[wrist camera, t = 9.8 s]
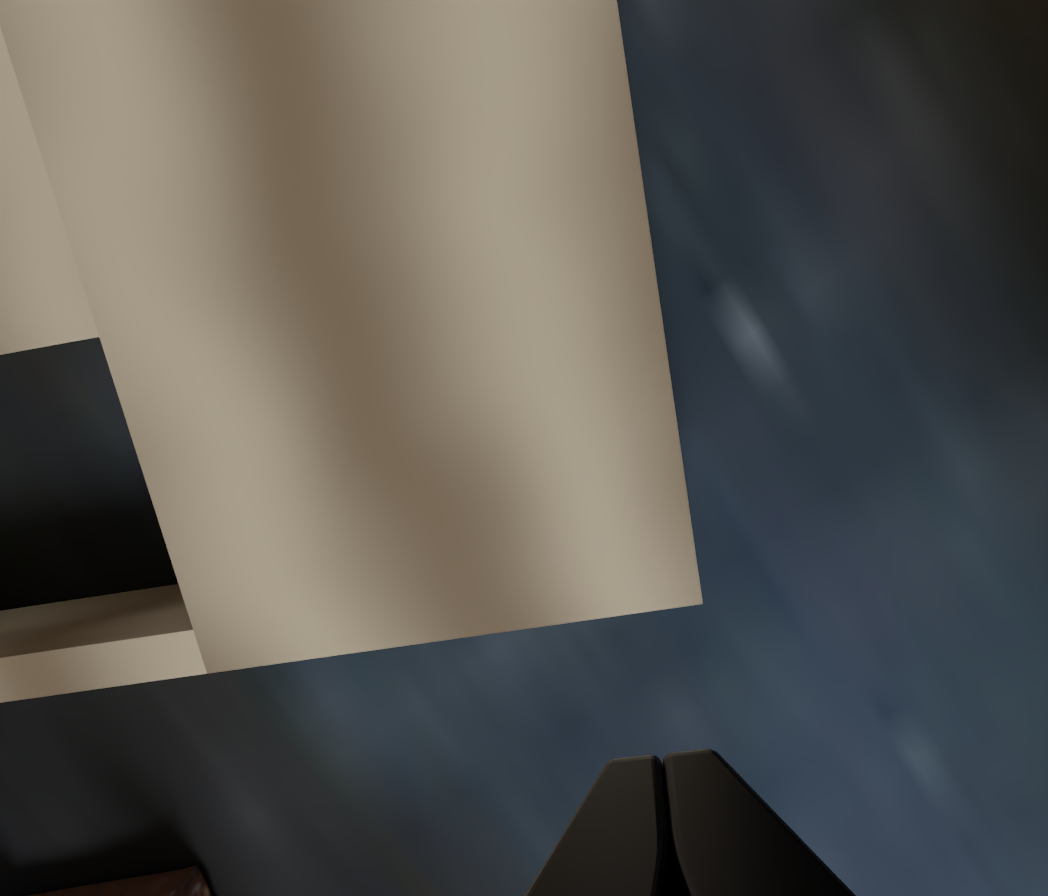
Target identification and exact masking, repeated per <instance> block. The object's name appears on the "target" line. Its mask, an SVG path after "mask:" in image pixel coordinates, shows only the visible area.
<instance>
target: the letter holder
mask: <svg viewBox="0 0 1048 896" xmlns="http://www.w3.org/2000/svg"><path fill="white" fill-rule="evenodd" d="M27 896H212V895H211V892H210V889H209V887H208V885H207V883H206V881H205V879H204V877H203V875H202V873H201V871H200V870H199V868H198V867H197V866H196V865H195V866H191V867H188V868H184V869H180V870H174V871H168V872H162V873H156V874H150V875H144V876H138V877H132V878H126V879H120V880H114V881H108V882H102V883H97V884H91V885H85V886H79V887H73V888H67V889H61V890H55V891H49V892H44V893H38V894H32V895H27Z"/></svg>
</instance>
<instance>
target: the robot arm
mask: <svg viewBox="0 0 1048 896" xmlns="http://www.w3.org/2000/svg"><path fill="white" fill-rule="evenodd" d="M525 896H856V895H855V894H854V893H853V892H852V891H851V890H850V889H849V888H848V887H847V886H846V885H845V884H844V883H843V882H842V881H841V880H840V879H839V878H838V877H837V876H836V875H835V874H834V873H833V872H832V871H831V870H830V869H829V867H828V866H827V865H826V864H825V863H824V862H823V861H822V860H821V859H820V858H819V857H818V856H817V855H816V854H815V853H814V852H813V851H812V850H811V849H810V848H809V847H808V846H807V845H806V844H805V843H804V842H803V841H802V840H801V839H800V837H799V836H798V835H797V834H796V833H795V832H794V831H793V830H792V829H791V828H790V827H789V826H788V825H787V824H786V823H785V822H784V821H783V820H782V819H781V818H780V817H779V816H778V815H777V814H776V813H775V812H774V811H773V810H772V809H771V807H770V806H769V805H768V804H767V803H766V802H765V801H764V800H763V799H762V798H761V797H760V796H759V795H758V794H757V793H756V792H755V791H754V790H753V789H752V788H751V787H750V786H749V785H748V784H747V783H746V782H745V781H744V780H743V779H742V777H741V776H740V775H739V774H738V773H737V772H736V771H735V770H734V769H733V768H732V767H731V766H730V765H729V764H728V763H727V762H726V761H725V760H724V759H723V758H722V757H721V756H720V755H719V754H718V753H717V752H716V751H714V750H712V749H702V750H693V751H684V752H674V753H669V754H667V755H666V756H665V757H664V759H663V767H662V763H661V760H660V759H659V758H658V757H657V756H655V755H646V756H636V757H626V758H616V759H612V760H610V761H609V762H608V763H607V764H606V765H605V766H604V768H603V770H602V771H601V773H600V775H599V776H598V778H597V779H596V781H595V783H594V784H593V786H592V787H591V789H590V791H589V792H588V794H587V796H586V797H585V799H584V800H583V802H582V804H581V805H580V807H579V809H578V810H577V812H576V813H575V815H574V817H573V818H572V820H571V821H570V823H569V825H568V826H567V828H566V830H565V831H564V833H563V834H562V836H561V838H560V839H559V841H558V843H557V844H556V846H555V847H554V849H553V851H552V852H551V854H550V855H549V857H548V859H547V860H546V862H545V864H544V865H543V867H542V868H541V870H540V872H539V873H538V875H537V876H536V878H535V880H534V881H533V883H532V885H531V886H530V888H529V889H528V891H527V893H526V894H525Z"/></svg>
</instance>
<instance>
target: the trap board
mask: <svg viewBox="0 0 1048 896" xmlns="http://www.w3.org/2000/svg"><path fill="white" fill-rule="evenodd" d="M95 337H100V340H101V343H102V346H103V350H104V353H105V356H106V359H107V362H108V365H109V368H110V371H111V375H112V378H113V381H114V384H115V387H116V390H117V393H118V396H119V400H120V403H121V406H122V409H123V412H124V415H125V418H126V421H127V425H128V428H129V431H130V434H131V437H132V440H133V443H134V446H135V450H136V453H137V456H138V459H139V462H140V465H141V468H142V471H143V475H144V478H145V481H146V484H147V487H148V490H149V493H150V496H151V500H152V503H153V506H154V509H155V512H156V515H157V518H158V521H159V525H160V528H161V531H162V534H163V537H164V540H165V543H166V546H167V550H168V553H169V556H170V559H171V562H172V565H173V568H174V571H175V575H176V578H177V581H178V584H174V585H168V586H161V587H155V588H148V589H141V590H135V591H128V592H121V593H115V594H108V595H102V596H95V597H88V598H82V599H75V600H69V601H62V602H55V603H49V604H42V605H35V606H29V607H22V608H16V609H9V610H2V611H0V703H1V702H8V701H15V700H22V699H29V698H37V697H44V696H51V695H58V694H65V693H72V692H79V691H86V690H93V689H101V688H108V687H115V686H122V685H129V684H136V683H143V682H150V681H158V680H165V679H172V678H179V677H186V676H193V675H200V674H207V673H215V672H222V671H229V670H236V669H243V668H250V667H257V666H264V665H272V664H279V663H286V662H293V661H300V660H307V659H314V658H321V657H329V656H336V655H343V654H350V653H357V652H364V651H371V650H378V649H385V648H393V647H400V646H407V645H414V644H421V643H428V642H435V641H442V640H450V639H457V638H464V637H471V636H478V635H485V634H492V633H499V632H507V631H514V630H521V629H528V628H535V627H542V626H549V625H556V624H564V623H571V622H578V621H585V620H592V619H599V618H606V617H613V616H621V615H628V614H635V613H642V612H649V611H656V610H663V609H670V608H677V607H685V606H692V605H699V604H703V602H702V595H701V588H700V581H699V574H698V567H697V560H696V553H695V546H694V539H693V532H692V525H691V518H690V511H689V504H688V497H687V490H686V483H685V476H684V469H683V462H682V455H681V448H680V441H679V434H678V427H677V419H676V412H675V405H674V398H673V391H672V384H671V377H670V370H669V363H668V356H667V349H666V342H665V335H664V328H663V321H662V314H661V307H660V300H659V293H658V286H657V279H656V272H655V265H654V258H653V251H652V244H651V237H650V230H649V223H648V216H647V209H646V202H645V195H644V188H643V181H642V174H641V167H640V160H639V153H638V146H637V139H636V132H635V125H634V118H633V111H632V104H631V97H630V90H629V83H628V76H627V69H626V62H625V55H624V48H623V41H622V33H621V26H620V19H619V12H618V5H617V0H0V355H1V354H7V353H12V352H18V351H23V350H29V349H34V348H40V347H46V346H51V345H57V344H62V343H68V342H73V341H79V340H84V339H90V338H95Z"/></svg>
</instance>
